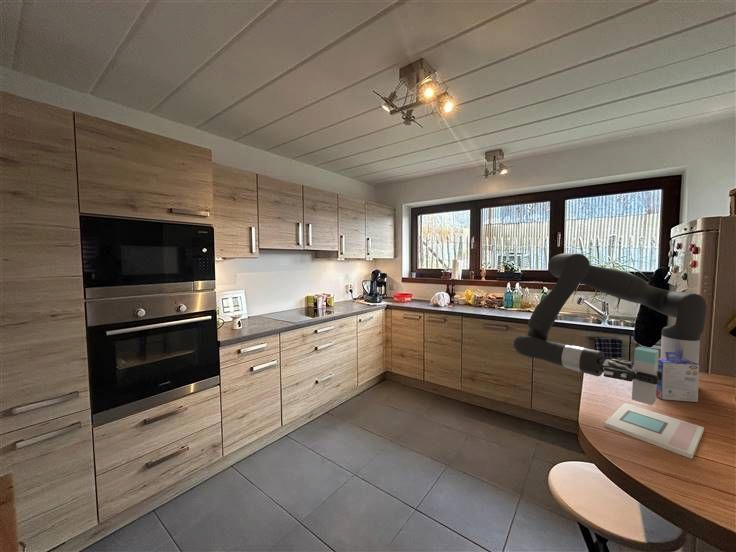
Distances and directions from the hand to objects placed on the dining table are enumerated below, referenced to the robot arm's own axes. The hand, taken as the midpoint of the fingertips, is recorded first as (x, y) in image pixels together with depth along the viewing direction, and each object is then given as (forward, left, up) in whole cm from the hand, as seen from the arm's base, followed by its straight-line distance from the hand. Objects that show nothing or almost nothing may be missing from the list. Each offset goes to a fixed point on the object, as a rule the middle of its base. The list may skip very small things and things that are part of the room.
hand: (659, 378), depth 76 cm
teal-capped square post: (0, -3, -7) cm, 8 cm away
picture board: (0, -1, -14) cm, 14 cm away
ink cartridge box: (-29, -1, -14) cm, 32 cm away
